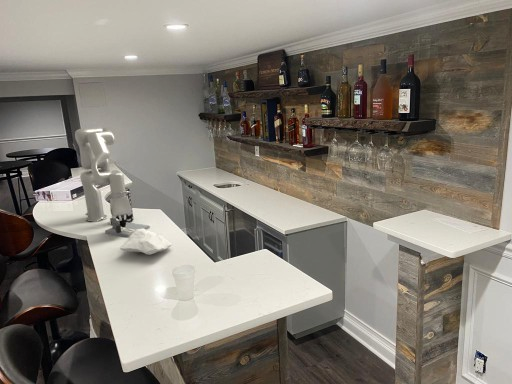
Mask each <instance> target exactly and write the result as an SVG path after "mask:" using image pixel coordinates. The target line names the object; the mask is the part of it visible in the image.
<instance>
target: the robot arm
mask: <svg viewBox="0 0 512 384" xmlns="http://www.w3.org/2000/svg"><path fill="white" fill-rule="evenodd" d="M74 138H75V141H76V143H77V145H78V149H79V154H80V155H79V156H80V162H81V167H82V168H83V169H84V170H86V171H84V172H82V173H81V174H80V177H79V179H80V182H81V185H82V189H83V194H84V199H85V206H86V213H85V216H87V217H86V218H85V220H88V221H96V222H98V221H97V220H101V219H104V218H106V217H107V218H108V216H107V214H105V212H104V206H103V205H104V204H103V199H102V192H101V190H100V189H99V188H98V187H97V186H99V187H103V186H109V187H110V195H111V197H110V199H109V206H110V209H109V210H110V214H111V218H113V219H116V220H117V221H118V223H119V224H120V225H121V227H126V226H125V225H126V218H127V217H128V216H129V215H131V214H132V213H131V207H130V203H129V199H128V196H127V195H126V194H128V191H125V189H126V185H125V177H124V173H123V172H121V171H119V170H118V169H112V170H110V162H109V161H110V160H109V158H110V156H111V153H110V150H109V148H108V146H111V145H114V144H115V141H116V139H115V135H114V133H113V132H112V131H111V130H110V129H108V128H106V127H103V126H97V127H84V128H79V129H77V130H76V131H75V133H74ZM121 215H123V217H122V218H121ZM107 218H106V219H107ZM104 220H105V219H104ZM88 221H87V222H88ZM101 221H102V220H101Z"/></svg>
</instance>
